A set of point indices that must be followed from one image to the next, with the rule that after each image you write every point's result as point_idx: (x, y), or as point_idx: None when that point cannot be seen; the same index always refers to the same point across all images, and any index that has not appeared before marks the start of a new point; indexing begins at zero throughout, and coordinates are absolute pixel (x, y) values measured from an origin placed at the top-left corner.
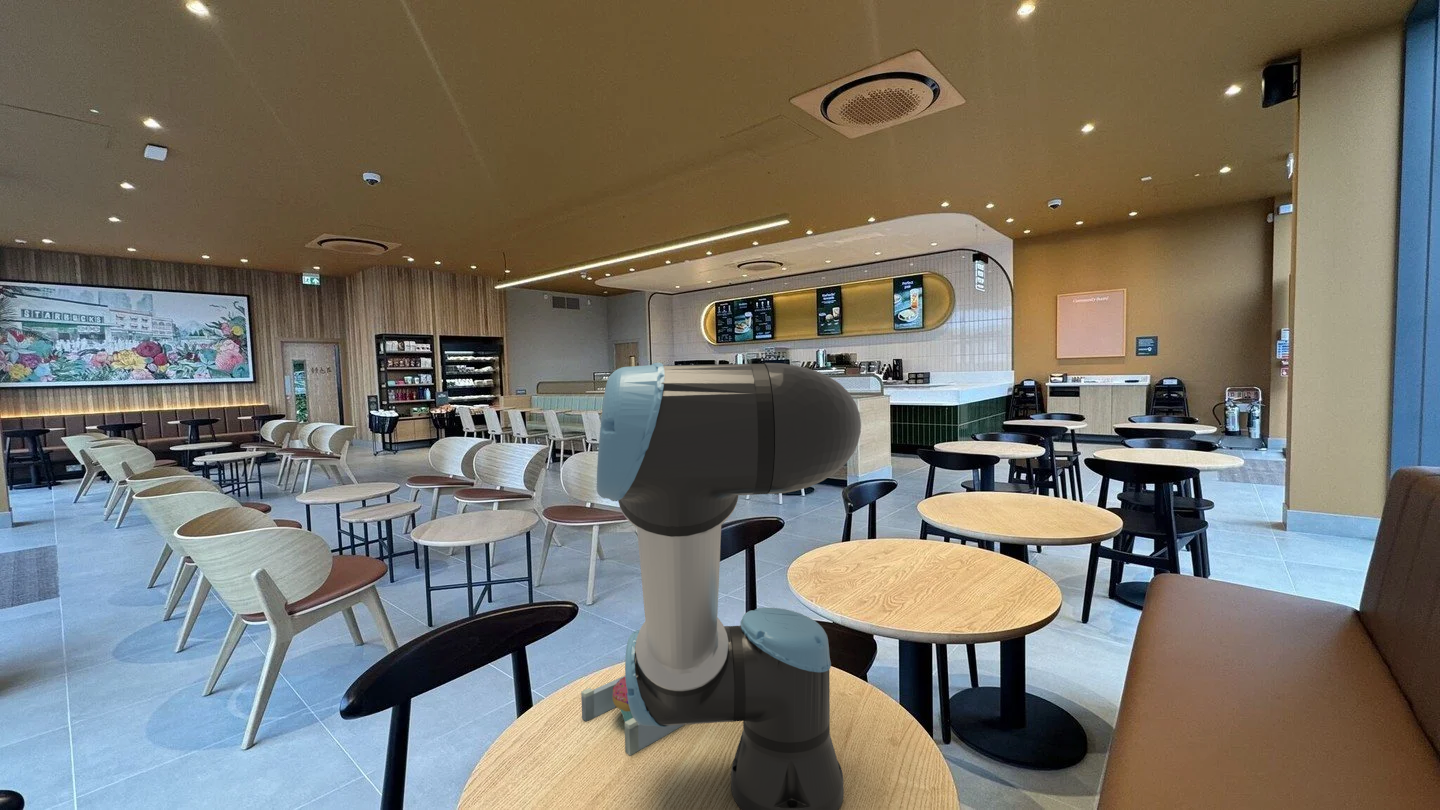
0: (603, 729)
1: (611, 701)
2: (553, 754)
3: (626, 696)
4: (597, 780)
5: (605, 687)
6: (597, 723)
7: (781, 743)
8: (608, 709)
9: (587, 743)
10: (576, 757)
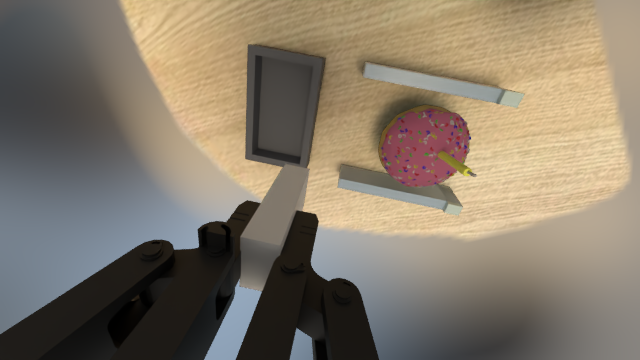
0: None
1: None
2: (527, 173)
3: (467, 145)
4: (565, 87)
5: (424, 198)
6: None
7: None
8: None
9: (491, 154)
10: (524, 146)
